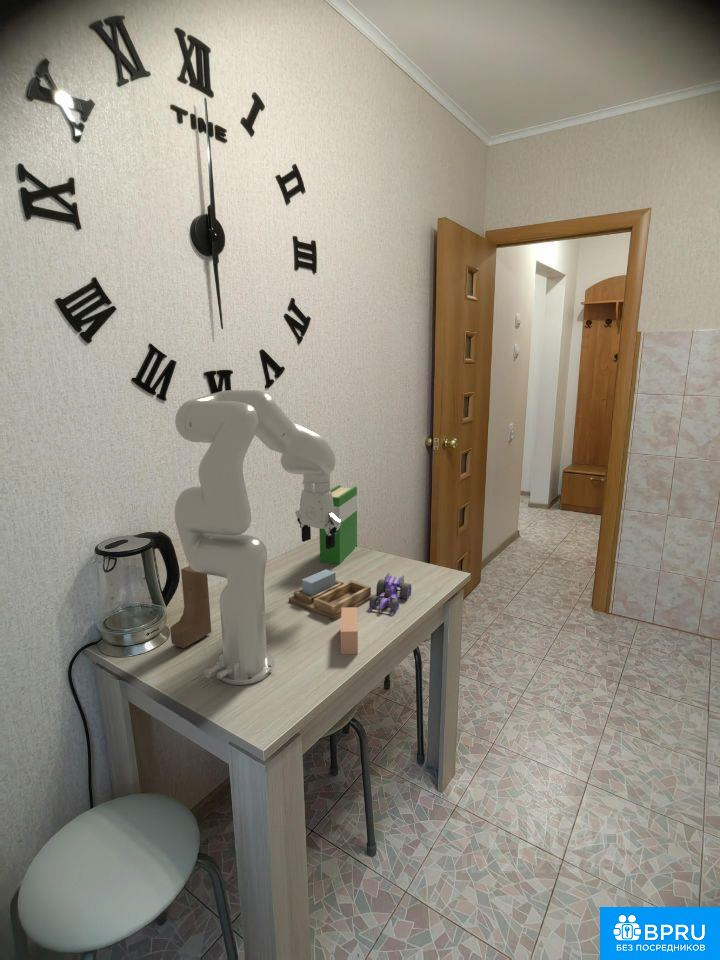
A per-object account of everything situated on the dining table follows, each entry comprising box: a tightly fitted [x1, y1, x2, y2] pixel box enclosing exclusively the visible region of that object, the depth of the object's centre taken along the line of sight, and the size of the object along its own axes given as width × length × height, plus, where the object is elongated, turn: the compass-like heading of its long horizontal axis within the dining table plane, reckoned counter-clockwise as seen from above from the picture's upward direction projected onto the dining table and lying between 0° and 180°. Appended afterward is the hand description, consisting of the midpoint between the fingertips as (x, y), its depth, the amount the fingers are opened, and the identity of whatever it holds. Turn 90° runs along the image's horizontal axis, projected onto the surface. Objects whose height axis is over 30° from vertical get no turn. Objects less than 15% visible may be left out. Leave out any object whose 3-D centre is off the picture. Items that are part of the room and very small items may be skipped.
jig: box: [288, 580, 375, 621], centre depth 143 cm, size 17×18×4 cm
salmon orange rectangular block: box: [340, 607, 359, 655], centre depth 121 cm, size 12×4×6 cm, turn 1°
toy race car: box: [367, 572, 412, 617], centre depth 140 cm, size 10×15×6 cm, turn 158°
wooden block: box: [169, 565, 212, 649], centre depth 121 cm, size 9×4×18 cm, turn 149°
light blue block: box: [301, 568, 337, 597], centre depth 146 cm, size 10×4×5 cm, turn 140°
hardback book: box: [318, 484, 358, 565], centre depth 175 cm, size 18×7×24 cm, turn 161°
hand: (318, 544), depth 143 cm, fingers open, 9 cm apart
